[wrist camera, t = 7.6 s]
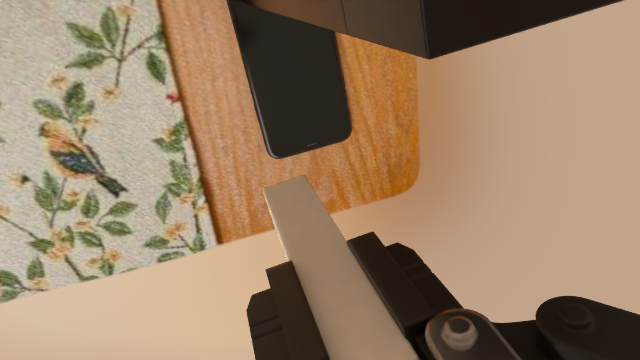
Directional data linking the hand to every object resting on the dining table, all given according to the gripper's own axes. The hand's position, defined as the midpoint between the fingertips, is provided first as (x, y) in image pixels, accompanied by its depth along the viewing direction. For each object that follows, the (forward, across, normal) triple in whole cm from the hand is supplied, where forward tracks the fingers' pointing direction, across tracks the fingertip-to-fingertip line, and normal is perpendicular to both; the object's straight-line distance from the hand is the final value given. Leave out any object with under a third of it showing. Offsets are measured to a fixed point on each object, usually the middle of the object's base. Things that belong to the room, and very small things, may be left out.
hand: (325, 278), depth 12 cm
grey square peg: (+5, 0, 0) cm, 5 cm away
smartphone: (+29, -5, 0) cm, 29 cm away
